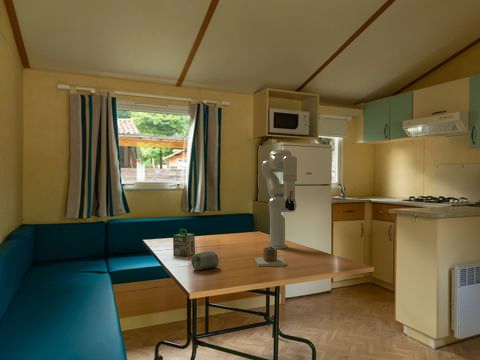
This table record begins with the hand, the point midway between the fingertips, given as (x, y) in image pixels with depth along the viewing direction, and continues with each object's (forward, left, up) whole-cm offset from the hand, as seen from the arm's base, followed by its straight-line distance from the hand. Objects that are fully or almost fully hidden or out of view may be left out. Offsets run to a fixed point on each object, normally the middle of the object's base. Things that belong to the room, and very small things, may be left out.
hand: (289, 209), depth 189 cm
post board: (+13, -13, -26) cm, 32 cm away
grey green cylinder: (+23, -46, -27) cm, 58 cm away
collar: (+13, -13, -25) cm, 31 cm away
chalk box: (-9, -59, -27) cm, 65 cm away
